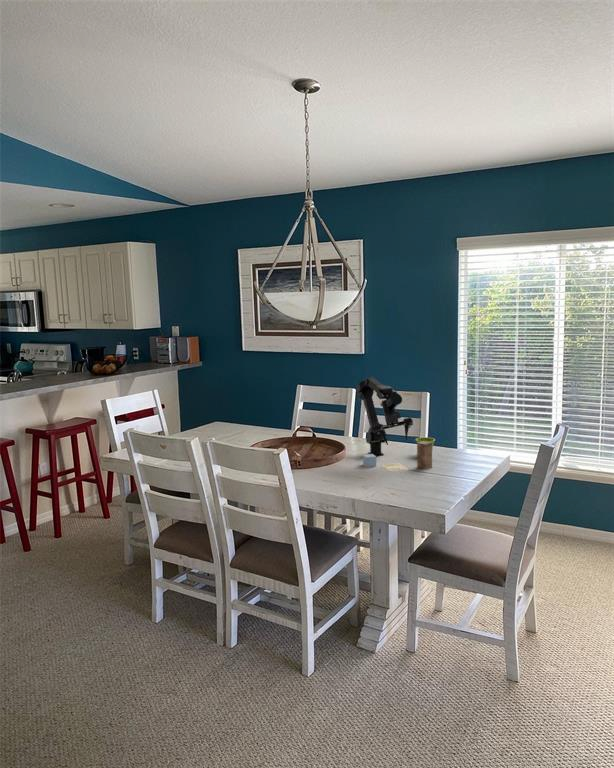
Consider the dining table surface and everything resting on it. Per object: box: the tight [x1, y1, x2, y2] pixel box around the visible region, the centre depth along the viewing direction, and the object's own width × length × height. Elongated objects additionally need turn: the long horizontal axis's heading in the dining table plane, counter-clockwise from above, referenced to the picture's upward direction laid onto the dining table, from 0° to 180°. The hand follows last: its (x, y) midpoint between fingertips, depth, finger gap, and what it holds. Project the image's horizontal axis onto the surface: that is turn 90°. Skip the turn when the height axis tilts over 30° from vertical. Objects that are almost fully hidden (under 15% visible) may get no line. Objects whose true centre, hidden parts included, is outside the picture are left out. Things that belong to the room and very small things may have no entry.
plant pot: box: [415, 436, 436, 451], centre depth 296 cm, size 9×9×9 cm
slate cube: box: [362, 454, 377, 468], centre depth 283 cm, size 5×5×5 cm
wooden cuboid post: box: [416, 441, 433, 470], centre depth 276 cm, size 5×5×12 cm
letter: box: [381, 462, 409, 472], centre depth 278 cm, size 12×9×1 cm
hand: (397, 442), depth 279 cm, fingers open, 9 cm apart
